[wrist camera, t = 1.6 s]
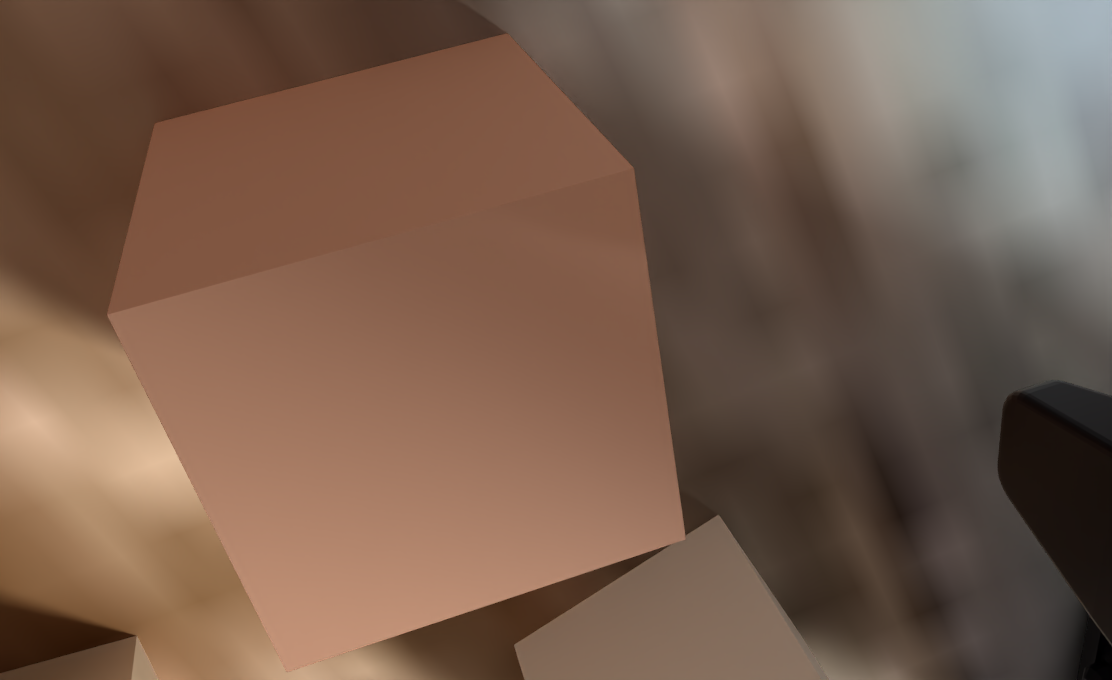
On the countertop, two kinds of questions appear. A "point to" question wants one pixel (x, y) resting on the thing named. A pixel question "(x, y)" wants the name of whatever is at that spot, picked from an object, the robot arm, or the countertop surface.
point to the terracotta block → (401, 343)
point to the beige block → (92, 664)
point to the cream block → (676, 623)
